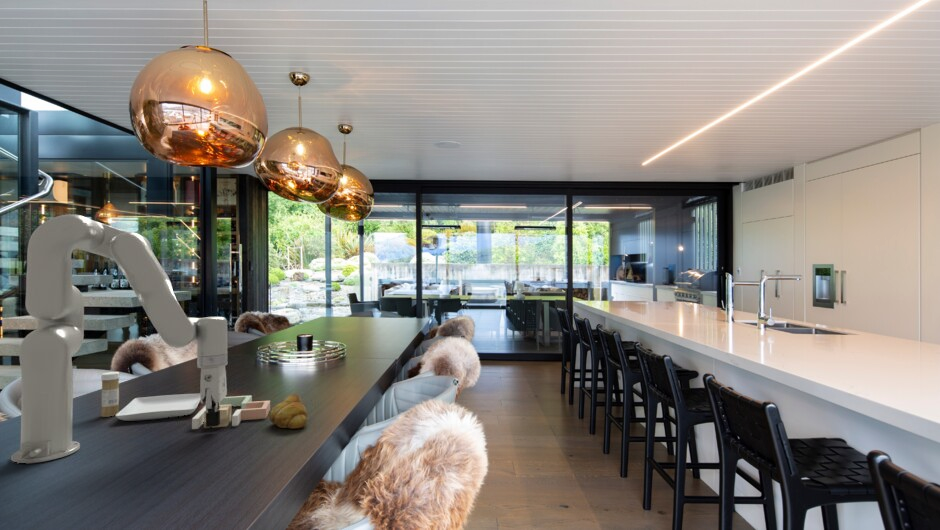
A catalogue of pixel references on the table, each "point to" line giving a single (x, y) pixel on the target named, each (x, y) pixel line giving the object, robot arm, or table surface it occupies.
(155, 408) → the salad plate
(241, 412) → the pastel wall shelf
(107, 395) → the sprinkles bottle
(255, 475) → the table surface
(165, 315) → the robot arm
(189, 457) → the table surface
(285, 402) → the bread roll
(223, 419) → the block
